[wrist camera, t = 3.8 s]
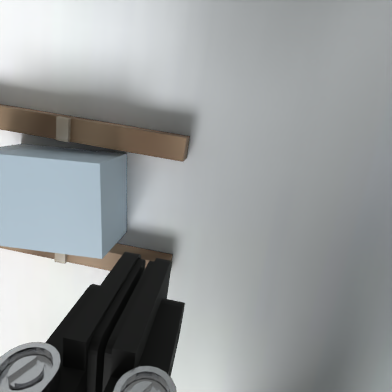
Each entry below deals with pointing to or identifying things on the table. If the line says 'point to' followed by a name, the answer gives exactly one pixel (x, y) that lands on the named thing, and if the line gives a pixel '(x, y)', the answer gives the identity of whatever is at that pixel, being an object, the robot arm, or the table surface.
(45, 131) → the wooden rail frame
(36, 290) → the table surface
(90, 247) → the block
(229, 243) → the table surface
